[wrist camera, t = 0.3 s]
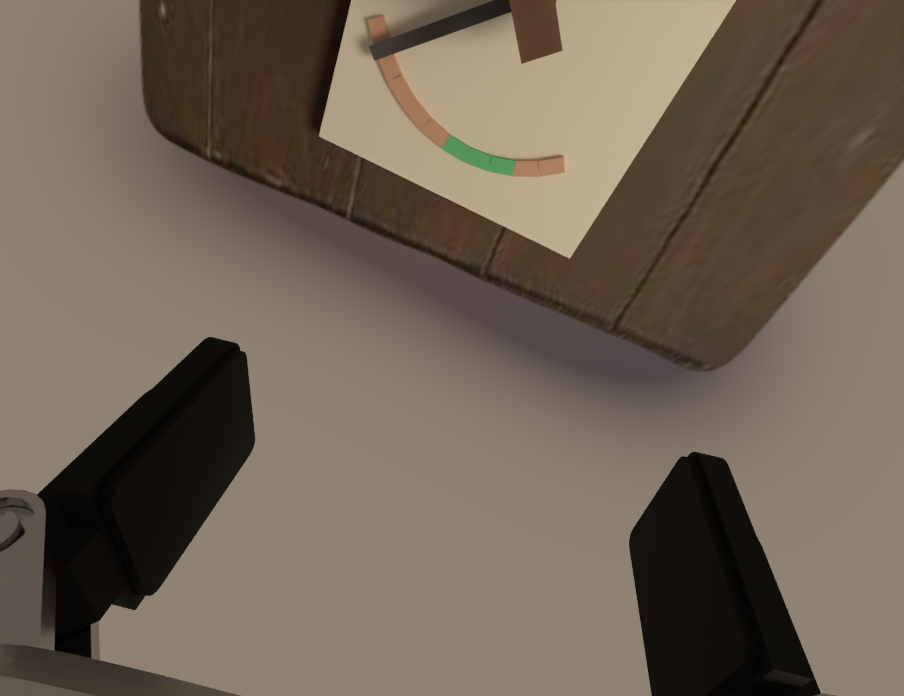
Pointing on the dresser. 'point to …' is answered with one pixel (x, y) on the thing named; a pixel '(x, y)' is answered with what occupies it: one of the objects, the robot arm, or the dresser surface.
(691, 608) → the robot arm
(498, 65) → the board
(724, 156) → the dresser surface
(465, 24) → the tuner needle gauge
